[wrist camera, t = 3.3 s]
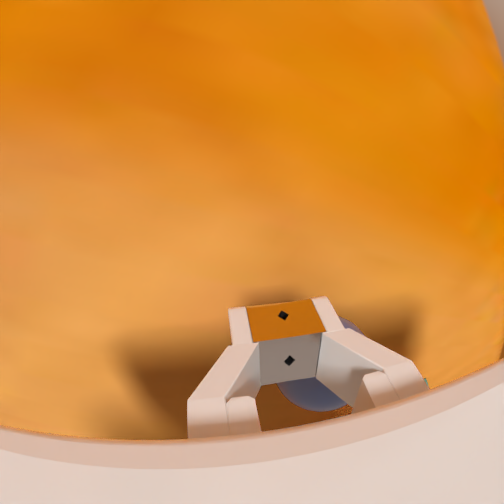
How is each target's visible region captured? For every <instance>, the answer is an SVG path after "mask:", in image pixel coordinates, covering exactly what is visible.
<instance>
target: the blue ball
mask: <svg viewBox="0 0 504 504" xmlns="http://www.w3.org/2000/svg"><path fill="white" fill-rule="evenodd" d="M338 317H339V316H338ZM339 319H340V321H341V323H342V324H343V326H344V328H345V329H347V328H350V329H352V330H354V331H356V332H358V333H360V334H361V335H363V336H364V334H363V333H362V332H361V330H360V329H359V328H358V327H357V326H355V325H354V324H353V323H352V322H350V321H348V320H347V319H345V318H342V317H339ZM277 386H278V387H279V389H280V391H281V392H282V394H283V395H284V396H285V397H286V398H287V399H288V400H289V401H291V402H292V403H293V404H295V405H297V406H298V407H301V408H303V409H306V410H310V411H317V412H323V411H331V410H335V409H338V408H341V407H343V406H345V405H347V403H346V402H345V401H343V400H342V399H341V398H340V397H338V396H337V395H336V394H335V393H333V392H332V391H331V390H330V389H329V388H327V387H326V386H325V385H324V384H322V383H321V382H320V381H319V380H318V379H316V377H311V378H305V379H298V380H291V381H285V382H279V383H277Z"/></svg>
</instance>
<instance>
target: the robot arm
mask: <svg viewBox="0 0 504 504" xmlns="http://www.w3.org/2000/svg"><path fill="white" fill-rule="evenodd" d="M228 315H229V324H230V333H231V342H232V345H231V346H227V348H226V349H225V350H224V352H223V353H222V354H221V356H220V357H219V358H218V360H217V361H216V363H215V364H214V365H213V367H212V368H211V369H210V371H209V372H208V373H207V375H206V376H205V377H204V379H203V380H202V381H201V383H200V384H199V385H198V387H197V388H196V389H195V391H194V392H193V393H192V395H191V396H190V397H189V399H188V400H187V431H188V439H167V440H127V439H103V438H88V437H77V436H67V435H58V434H50V433H43V432H36V431H30V430H24V429H18V428H13V427H8V426H3V425H0V504H504V358H502V359H500V360H498V361H496V362H494V363H492V364H490V365H488V366H486V367H483V368H481V369H479V370H477V371H475V372H472V373H470V374H468V375H465V376H463V377H461V378H458V379H456V380H453V381H451V382H448V383H446V384H443V385H441V386H438V387H435V388H433V389H429V387H428V385H427V384H426V382H425V381H424V379H423V377H422V376H421V374H420V373H419V371H418V370H417V368H416V366H415V365H414V363H413V362H412V361H411V360H409V359H407V358H405V357H403V356H401V355H400V354H398V353H396V352H394V351H392V350H390V349H388V348H386V347H384V346H382V345H380V344H379V343H377V342H375V341H373V340H371V339H369V338H367V337H365V336H363V335H361V334H360V333H358V332H356V331H354V330H352V329H350V328H347V329H345V328H344V326H343V324H342V323H341V321H340V319H339V317H338V315H337V314H336V312H335V310H334V308H333V306H332V305H331V303H330V301H329V299H328V298H327V297H326V296H321V297H315V298H310V299H305V300H298V301H291V302H283V303H273V304H263V305H253V306H243V307H233V308H228ZM311 377H316V379H318V380H319V381H320V382H321V383H322V384H324V385H325V386H326V387H327V388H329V389H330V390H331V391H332V392H333V393H335V394H336V395H337V396H338V397H340V398H341V399H342V400H343V401H345V402H346V403H347V404H348V405H350V406H351V407H352V408H353V409H352V412H351V414H349V415H345V416H341V417H337V418H333V419H328V420H324V421H319V422H314V423H309V424H304V425H299V426H294V427H288V428H282V429H276V430H269V431H261V427H260V422H259V417H258V412H257V407H256V402H255V398H256V396H257V394H258V392H259V390H260V388H261V386H262V385H268V384H274V383H279V382H285V381H291V380H298V379H305V378H311Z"/></svg>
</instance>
